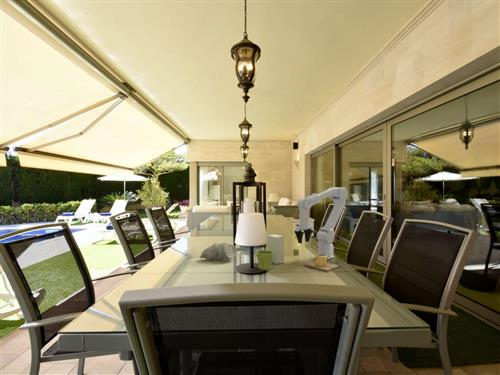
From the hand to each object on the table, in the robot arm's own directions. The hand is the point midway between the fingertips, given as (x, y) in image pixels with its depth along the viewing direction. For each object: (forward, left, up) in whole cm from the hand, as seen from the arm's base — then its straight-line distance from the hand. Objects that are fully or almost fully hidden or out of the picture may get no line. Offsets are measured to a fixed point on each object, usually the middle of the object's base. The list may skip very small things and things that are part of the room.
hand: (303, 242), depth 165 cm
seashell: (+39, -30, -10) cm, 50 cm away
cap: (+5, +15, -9) cm, 18 cm away
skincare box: (+17, -7, -10) cm, 21 cm away
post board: (+5, +15, -10) cm, 19 cm away
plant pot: (+32, -2, -10) cm, 34 cm away
